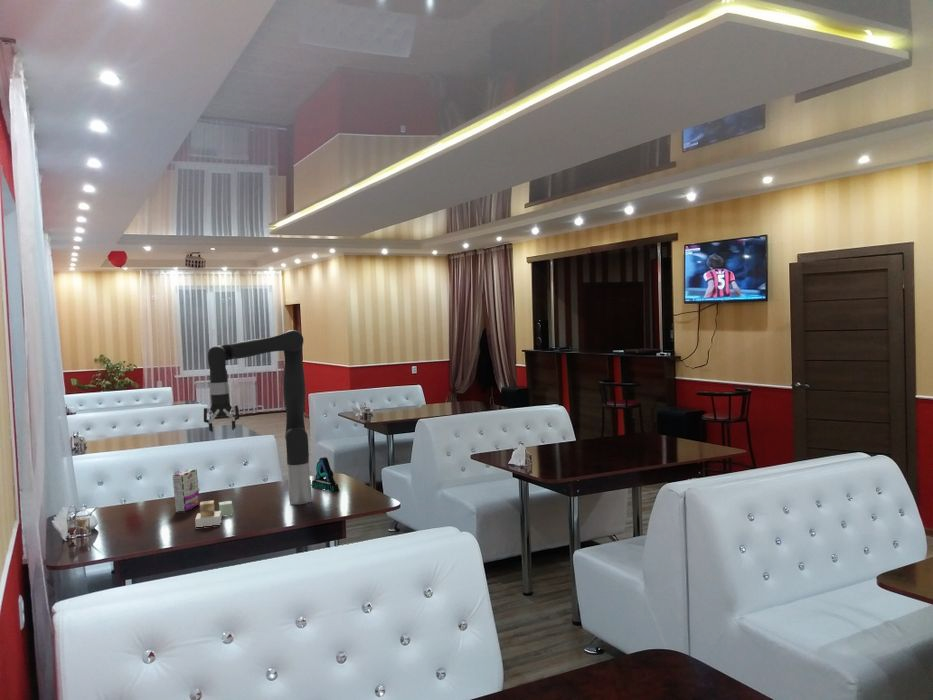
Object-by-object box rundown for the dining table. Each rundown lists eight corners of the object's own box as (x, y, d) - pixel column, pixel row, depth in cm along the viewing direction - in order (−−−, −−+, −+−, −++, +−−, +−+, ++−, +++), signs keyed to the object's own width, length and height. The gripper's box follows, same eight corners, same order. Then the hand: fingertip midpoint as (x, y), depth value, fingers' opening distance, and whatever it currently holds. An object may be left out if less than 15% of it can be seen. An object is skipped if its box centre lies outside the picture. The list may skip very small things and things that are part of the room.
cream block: (221, 520, 287) (221, 510, 287) (220, 526, 278) (219, 516, 278) (198, 523, 285) (197, 513, 284) (195, 529, 276) (195, 519, 276)
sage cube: (232, 512, 298) (231, 500, 297) (232, 515, 293) (232, 503, 293) (219, 514, 296) (218, 502, 295) (220, 517, 291) (219, 505, 291)
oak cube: (214, 512, 285) (213, 500, 284) (214, 515, 280) (213, 503, 280) (201, 514, 283) (200, 501, 283) (200, 517, 278) (199, 504, 278)
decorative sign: (339, 491, 325) (337, 459, 324) (335, 492, 323) (333, 460, 322) (315, 486, 338) (313, 455, 337) (311, 487, 336) (309, 456, 335)
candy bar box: (190, 505, 313) (187, 468, 312) (200, 505, 312) (197, 468, 311) (174, 512, 302) (172, 474, 301) (185, 512, 301) (182, 474, 300)
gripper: (236, 390, 305) (239, 428, 306) (201, 393, 300) (204, 431, 300) (238, 392, 298) (240, 430, 299) (202, 395, 293) (204, 433, 293)
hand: (222, 430), depth 300 cm, fingers open, 8 cm apart
